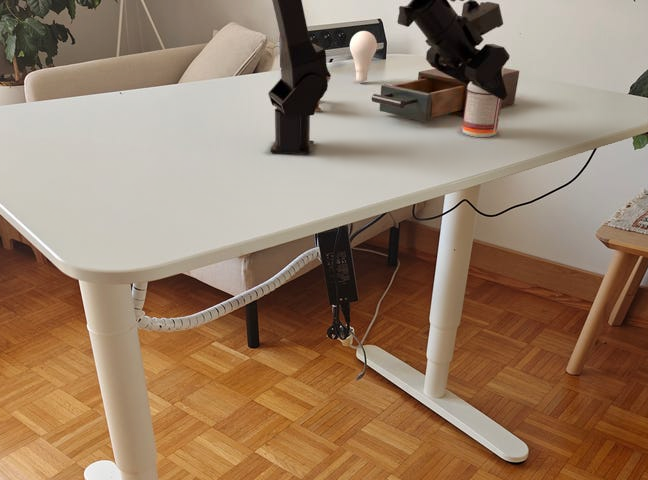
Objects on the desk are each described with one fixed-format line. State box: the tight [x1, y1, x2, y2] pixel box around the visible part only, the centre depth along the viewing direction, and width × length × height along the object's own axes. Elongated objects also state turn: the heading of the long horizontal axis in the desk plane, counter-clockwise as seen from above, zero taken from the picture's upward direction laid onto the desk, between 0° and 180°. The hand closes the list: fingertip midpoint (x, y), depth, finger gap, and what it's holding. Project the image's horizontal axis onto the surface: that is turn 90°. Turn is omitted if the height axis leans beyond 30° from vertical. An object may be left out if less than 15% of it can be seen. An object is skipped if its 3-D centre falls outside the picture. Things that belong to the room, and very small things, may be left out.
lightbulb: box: [349, 30, 378, 84], centre depth 156 cm, size 6×6×11 cm
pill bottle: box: [461, 65, 505, 138], centre depth 120 cm, size 6×6×11 cm
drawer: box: [371, 78, 467, 123], centre depth 131 cm, size 20×11×5 cm, turn 132°
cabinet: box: [417, 67, 520, 118], centre depth 139 cm, size 17×13×7 cm
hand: (490, 92), depth 119 cm, fingers open, 9 cm apart
